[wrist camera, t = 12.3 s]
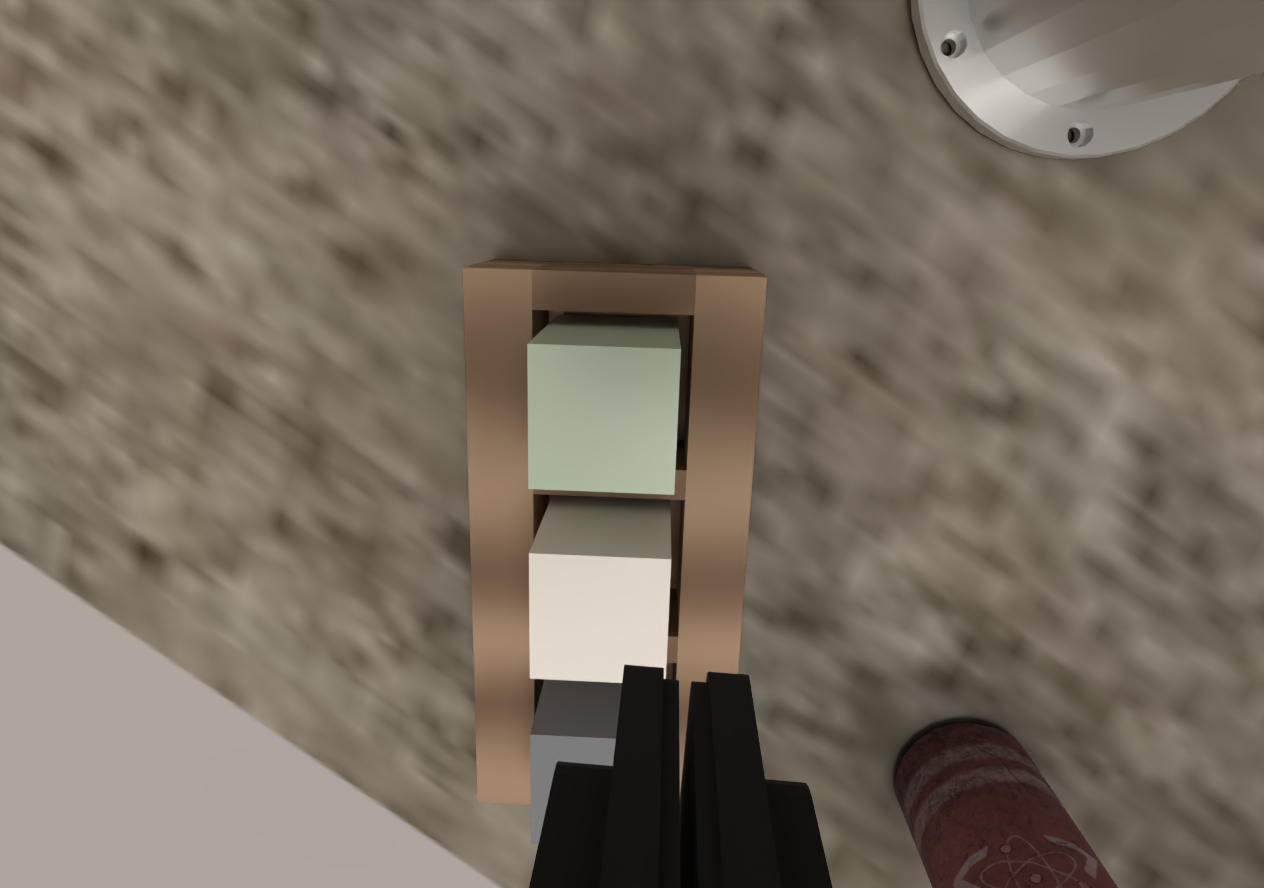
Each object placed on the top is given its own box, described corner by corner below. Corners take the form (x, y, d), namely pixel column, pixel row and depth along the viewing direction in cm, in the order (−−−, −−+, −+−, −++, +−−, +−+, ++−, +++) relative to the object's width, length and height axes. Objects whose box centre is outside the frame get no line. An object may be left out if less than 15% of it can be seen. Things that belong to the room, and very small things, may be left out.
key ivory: (557, 480, 31) (528, 553, 25) (670, 485, 31) (671, 559, 25) (557, 582, 33) (529, 678, 26) (665, 587, 32) (665, 684, 26)
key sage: (558, 314, 30) (527, 343, 23) (677, 318, 29) (681, 349, 23) (558, 429, 31) (528, 489, 24) (672, 433, 31) (674, 494, 24)
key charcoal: (557, 629, 33) (529, 734, 26) (663, 634, 33) (662, 741, 26) (557, 720, 34) (530, 843, 28) (659, 726, 34) (657, 850, 28)
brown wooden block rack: (493, 259, 31) (462, 267, 26) (751, 267, 31) (767, 277, 26) (502, 725, 37) (477, 801, 32) (719, 736, 37) (727, 814, 32)
